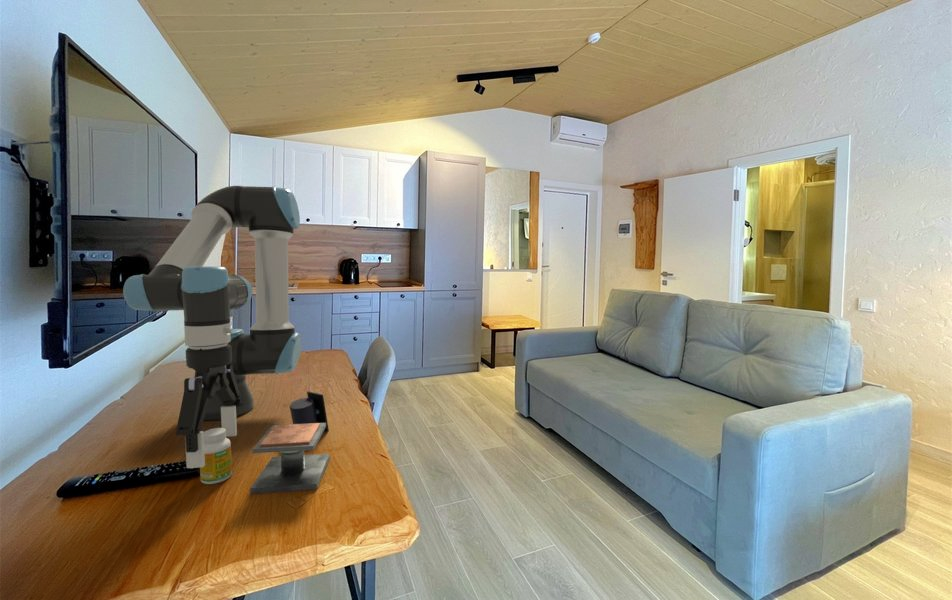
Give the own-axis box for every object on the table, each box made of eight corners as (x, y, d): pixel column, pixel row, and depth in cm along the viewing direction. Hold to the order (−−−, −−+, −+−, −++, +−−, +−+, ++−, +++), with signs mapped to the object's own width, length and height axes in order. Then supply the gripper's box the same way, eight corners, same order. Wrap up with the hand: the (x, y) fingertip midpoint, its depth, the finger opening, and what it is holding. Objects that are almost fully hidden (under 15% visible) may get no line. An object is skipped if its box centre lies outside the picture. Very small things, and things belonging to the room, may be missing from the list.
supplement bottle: (217, 486, 78) (214, 438, 77) (193, 483, 79) (190, 436, 78) (238, 472, 84) (236, 427, 83) (216, 469, 85) (213, 424, 84)
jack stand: (272, 462, 88) (270, 422, 87) (329, 458, 90) (328, 419, 89) (250, 494, 76) (248, 448, 75) (317, 489, 78) (315, 444, 77)
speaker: (320, 423, 108) (315, 387, 106) (329, 431, 104) (324, 394, 102) (290, 434, 103) (285, 396, 101) (299, 443, 99) (293, 404, 96)
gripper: (195, 359, 67) (202, 481, 69) (254, 334, 92) (258, 424, 93) (145, 360, 66) (153, 484, 68) (218, 334, 90) (223, 426, 92)
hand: (214, 450), depth 80 cm, fingers open, 13 cm apart
